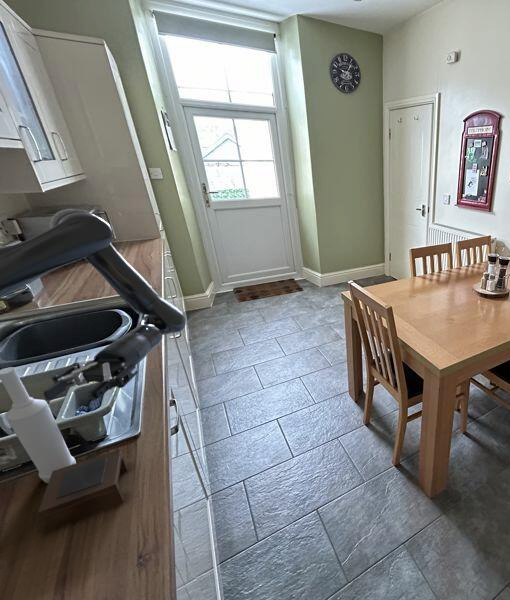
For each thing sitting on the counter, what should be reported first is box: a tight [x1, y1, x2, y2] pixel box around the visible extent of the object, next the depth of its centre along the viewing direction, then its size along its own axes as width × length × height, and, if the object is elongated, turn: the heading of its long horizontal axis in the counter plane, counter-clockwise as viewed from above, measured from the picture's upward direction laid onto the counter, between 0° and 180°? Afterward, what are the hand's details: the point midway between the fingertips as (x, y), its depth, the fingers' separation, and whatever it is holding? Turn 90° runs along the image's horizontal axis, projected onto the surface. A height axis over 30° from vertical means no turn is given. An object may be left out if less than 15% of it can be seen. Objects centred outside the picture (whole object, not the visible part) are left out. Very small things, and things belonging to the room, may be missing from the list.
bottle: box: [0, 366, 77, 484], centre depth 61 cm, size 5×5×25 cm
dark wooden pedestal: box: [37, 448, 129, 531], centre depth 61 cm, size 10×9×5 cm
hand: (68, 397), depth 67 cm, fingers open, 8 cm apart
